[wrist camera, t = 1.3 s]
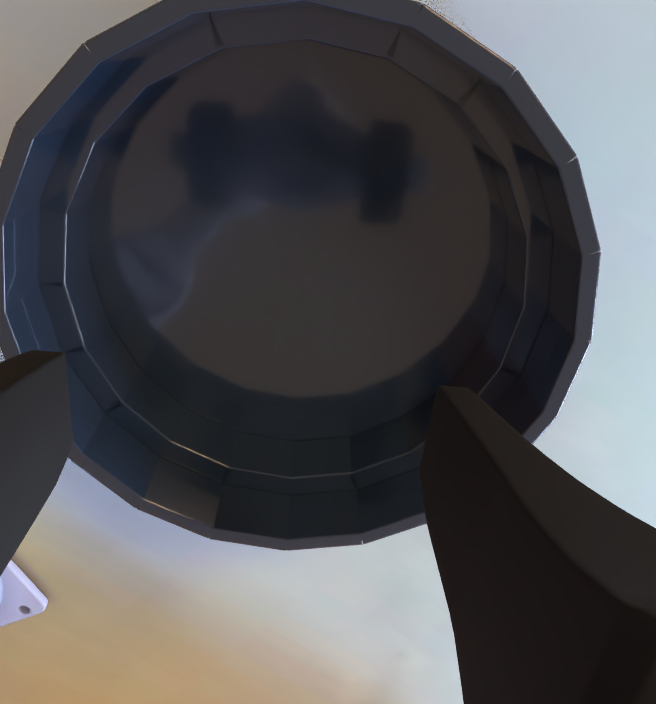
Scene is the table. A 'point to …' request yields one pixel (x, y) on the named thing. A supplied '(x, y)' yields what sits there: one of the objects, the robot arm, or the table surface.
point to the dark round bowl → (291, 258)
